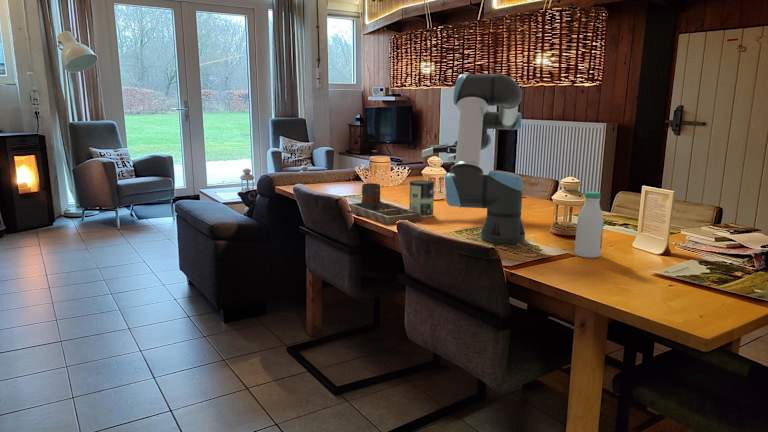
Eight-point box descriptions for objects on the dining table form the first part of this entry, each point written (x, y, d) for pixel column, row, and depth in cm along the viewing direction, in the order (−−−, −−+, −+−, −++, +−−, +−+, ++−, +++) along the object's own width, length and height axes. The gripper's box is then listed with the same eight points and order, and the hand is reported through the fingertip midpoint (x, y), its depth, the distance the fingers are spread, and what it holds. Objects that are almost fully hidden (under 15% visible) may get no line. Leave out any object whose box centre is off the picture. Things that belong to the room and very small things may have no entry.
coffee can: (434, 213, 238) (435, 180, 235) (431, 218, 228) (432, 184, 225) (410, 212, 240) (411, 179, 237) (406, 216, 230) (407, 182, 227)
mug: (369, 215, 231) (369, 187, 229) (357, 210, 242) (358, 183, 240) (387, 213, 235) (388, 186, 233) (375, 208, 246) (376, 182, 243)
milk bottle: (597, 259, 169) (603, 195, 165) (571, 256, 173) (576, 192, 169) (602, 254, 176) (608, 191, 172) (577, 250, 180) (582, 189, 176)
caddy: (421, 220, 222) (421, 213, 222) (387, 224, 214) (387, 217, 213) (379, 207, 249) (379, 200, 248) (348, 210, 241) (348, 203, 240)
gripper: (489, 159, 238) (459, 170, 224) (442, 150, 255) (412, 160, 240) (489, 142, 236) (459, 152, 222) (443, 134, 252) (412, 143, 238)
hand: (435, 156), depth 231 cm, fingers open, 13 cm apart
